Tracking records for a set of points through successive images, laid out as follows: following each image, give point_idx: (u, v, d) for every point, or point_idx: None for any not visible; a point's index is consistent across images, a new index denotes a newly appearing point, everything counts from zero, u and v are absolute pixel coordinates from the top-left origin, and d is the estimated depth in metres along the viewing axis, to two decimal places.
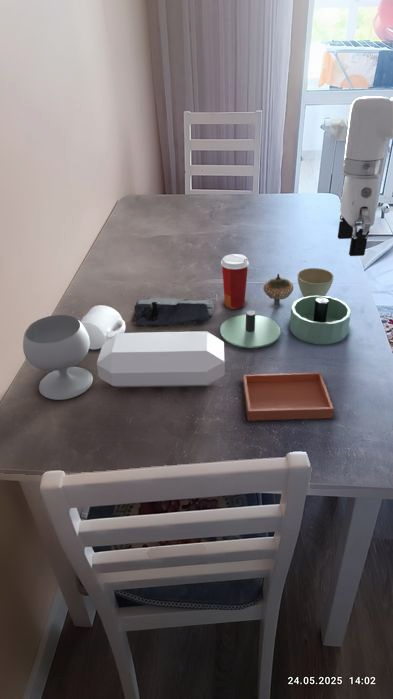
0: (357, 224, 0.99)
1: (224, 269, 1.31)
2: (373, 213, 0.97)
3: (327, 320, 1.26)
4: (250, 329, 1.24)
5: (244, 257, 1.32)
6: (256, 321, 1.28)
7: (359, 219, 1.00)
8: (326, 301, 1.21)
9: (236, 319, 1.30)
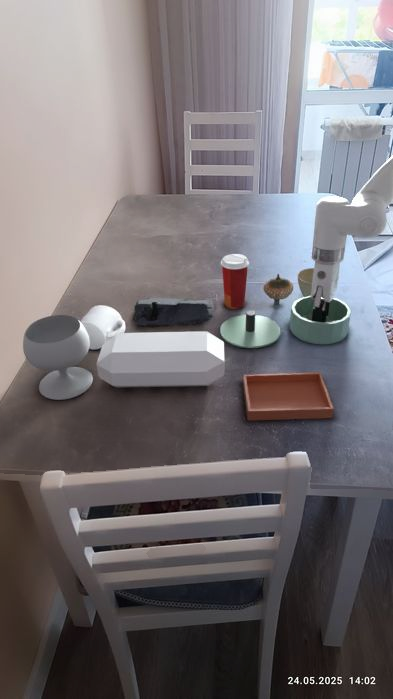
0: None
1: (224, 269, 1.31)
2: (328, 292, 1.14)
3: (327, 320, 1.26)
4: (250, 329, 1.24)
5: (244, 257, 1.32)
6: (256, 321, 1.28)
7: None
8: None
9: (236, 319, 1.30)
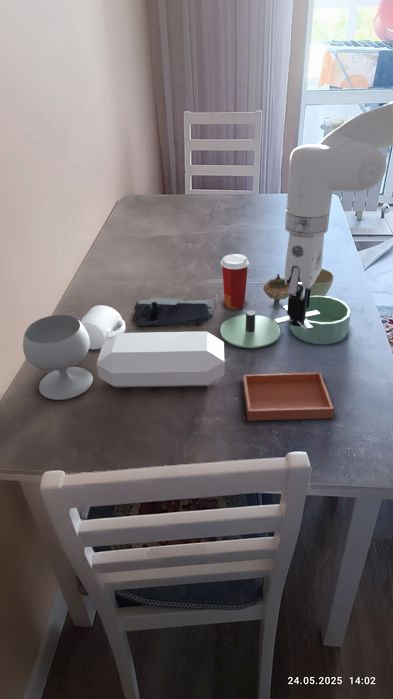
0: None
1: (224, 269, 1.31)
2: (306, 275, 0.86)
3: (308, 313, 0.97)
4: (250, 329, 1.24)
5: (244, 257, 1.32)
6: (256, 321, 1.28)
7: None
8: None
9: (236, 319, 1.30)
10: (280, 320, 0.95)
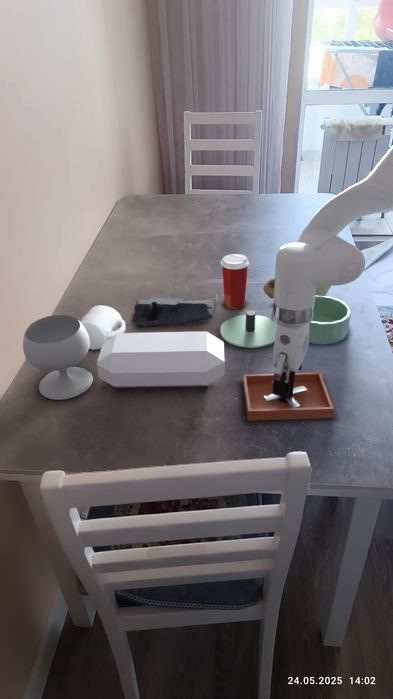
0: None
1: (224, 269, 1.31)
2: (293, 361, 0.91)
3: (295, 389, 1.03)
4: (250, 329, 1.24)
5: (244, 257, 1.32)
6: (256, 321, 1.28)
7: None
8: None
9: (236, 319, 1.30)
10: (269, 398, 1.01)
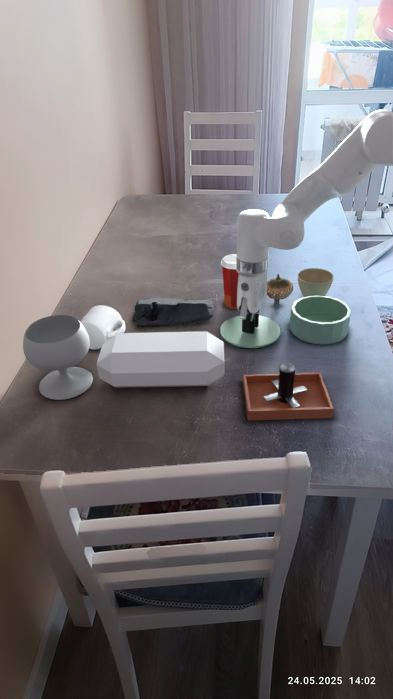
0: None
1: (224, 269, 1.31)
2: (252, 304, 1.15)
3: (295, 389, 1.03)
4: None
5: None
6: None
7: None
8: (292, 369, 0.98)
9: (236, 319, 1.30)
10: (269, 398, 1.01)
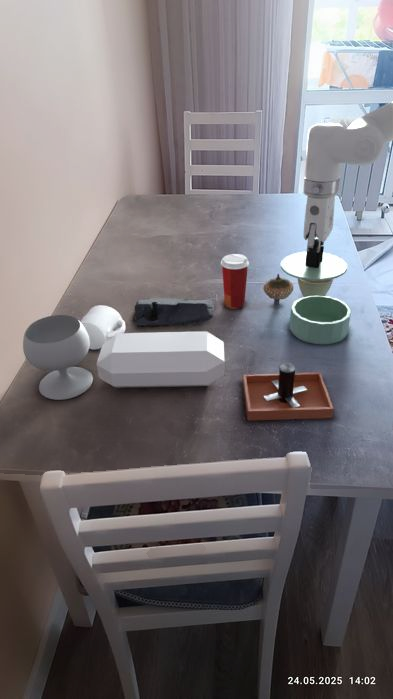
0: None
1: (224, 269, 1.31)
2: (321, 230, 1.05)
3: (295, 389, 1.03)
4: None
5: (244, 257, 1.32)
6: None
7: None
8: (292, 369, 0.98)
9: (296, 255, 1.20)
10: (269, 398, 1.01)
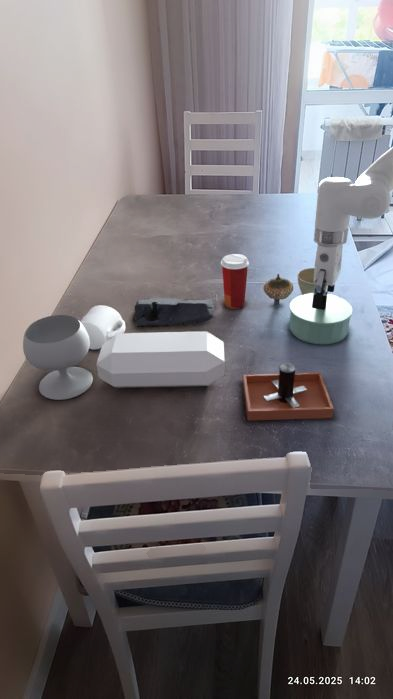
0: None
1: (224, 269, 1.31)
2: (331, 276, 1.12)
3: (295, 389, 1.03)
4: None
5: (244, 257, 1.32)
6: None
7: None
8: (292, 369, 0.98)
9: (304, 297, 1.27)
10: (269, 398, 1.01)
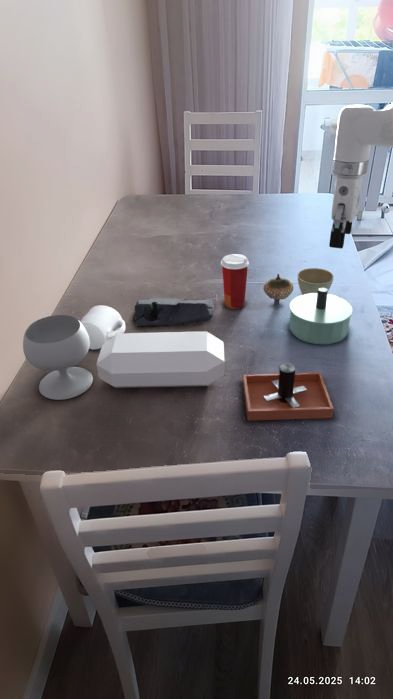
0: None
1: (224, 269, 1.31)
2: (350, 210, 1.08)
3: (295, 389, 1.03)
4: (321, 306, 1.21)
5: (244, 257, 1.32)
6: None
7: None
8: (292, 369, 0.98)
9: (304, 297, 1.27)
10: (269, 398, 1.01)
